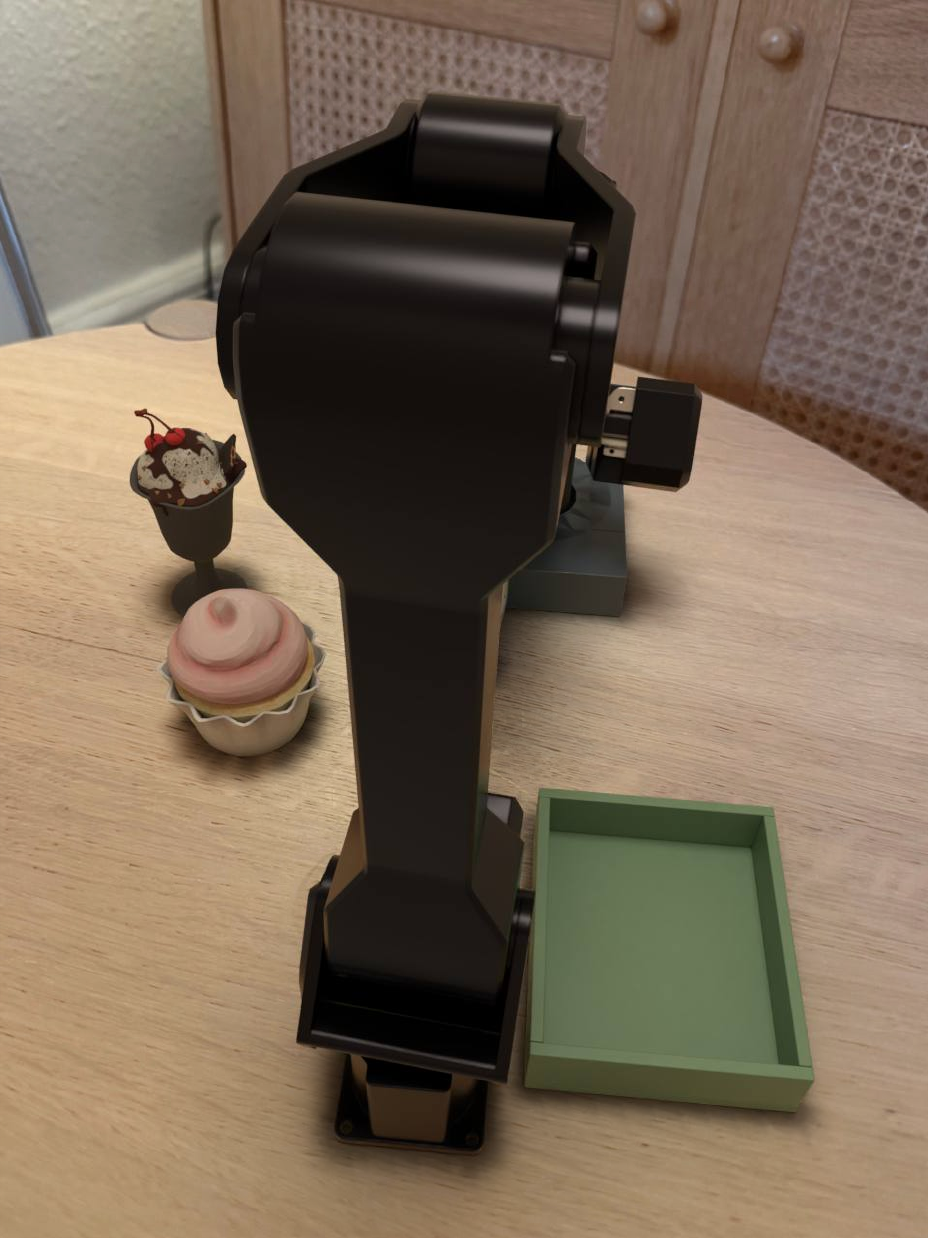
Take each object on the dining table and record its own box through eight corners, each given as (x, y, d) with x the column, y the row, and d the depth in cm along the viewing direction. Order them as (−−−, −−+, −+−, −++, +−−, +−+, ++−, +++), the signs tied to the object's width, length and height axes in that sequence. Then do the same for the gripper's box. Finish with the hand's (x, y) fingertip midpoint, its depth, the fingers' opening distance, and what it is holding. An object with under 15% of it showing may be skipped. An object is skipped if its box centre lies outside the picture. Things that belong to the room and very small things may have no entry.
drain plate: (620, 617, 71) (627, 577, 68) (437, 602, 71) (438, 563, 69) (615, 493, 80) (622, 454, 78) (454, 481, 81) (456, 442, 78)
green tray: (795, 1113, 48) (815, 1081, 46) (523, 1087, 49) (529, 1054, 46) (758, 844, 59) (773, 806, 56) (533, 825, 59) (539, 787, 57)
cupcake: (141, 706, 64) (108, 582, 57) (277, 638, 68) (261, 515, 61) (220, 809, 59) (195, 687, 52) (361, 729, 63) (355, 607, 56)
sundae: (135, 608, 70) (86, 413, 59) (200, 549, 74) (165, 357, 64) (218, 645, 68) (183, 449, 57) (280, 582, 72) (257, 388, 62)
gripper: (732, 262, 57) (699, 343, 72) (385, 222, 59) (425, 309, 74) (700, 472, 57) (674, 508, 72) (354, 425, 59) (401, 470, 74)
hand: (543, 443), depth 73 cm, fingers open, 6 cm apart
